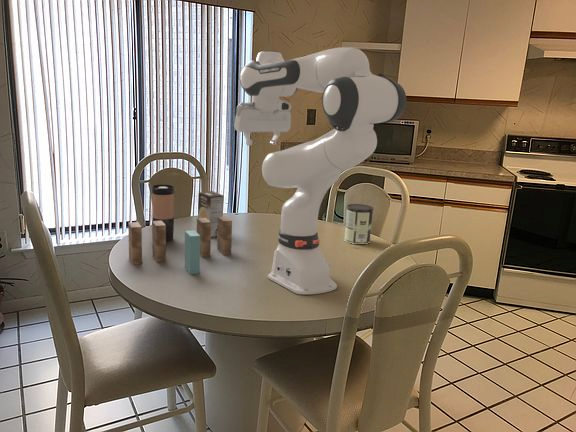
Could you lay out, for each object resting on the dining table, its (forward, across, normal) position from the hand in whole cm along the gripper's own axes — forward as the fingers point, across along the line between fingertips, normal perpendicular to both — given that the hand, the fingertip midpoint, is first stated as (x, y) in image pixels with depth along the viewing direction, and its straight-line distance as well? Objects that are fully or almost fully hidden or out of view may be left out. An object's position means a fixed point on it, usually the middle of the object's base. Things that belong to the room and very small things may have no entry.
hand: (261, 145), depth 160 cm
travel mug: (+40, -24, +23) cm, 52 cm away
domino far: (+38, -40, +6) cm, 56 cm away
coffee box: (+40, -5, +24) cm, 47 cm away
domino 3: (+38, -18, +2) cm, 42 cm away
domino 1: (+38, -33, +5) cm, 50 cm away
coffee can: (+38, +43, -10) cm, 58 cm away
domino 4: (+38, -11, +1) cm, 39 cm away
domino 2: (+37, -28, -10) cm, 47 cm away
